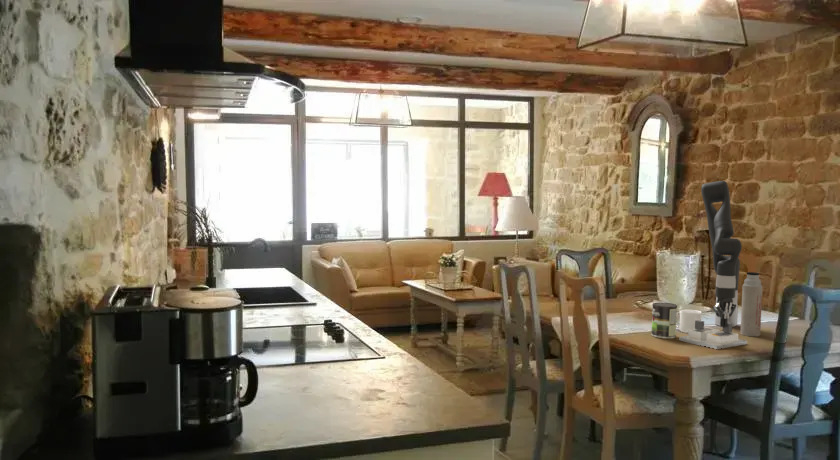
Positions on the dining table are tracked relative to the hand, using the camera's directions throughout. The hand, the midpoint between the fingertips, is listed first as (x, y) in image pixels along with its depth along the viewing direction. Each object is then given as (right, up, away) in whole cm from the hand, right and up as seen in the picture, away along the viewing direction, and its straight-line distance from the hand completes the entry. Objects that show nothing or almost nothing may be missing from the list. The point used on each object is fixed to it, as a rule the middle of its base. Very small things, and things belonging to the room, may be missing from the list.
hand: (723, 327), depth 279 cm
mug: (-5, -6, +26) cm, 27 cm away
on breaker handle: (-8, -2, +6) cm, 10 cm away
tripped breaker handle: (+2, -2, +1) cm, 3 cm away
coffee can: (-20, -6, +15) cm, 26 cm away
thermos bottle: (+21, -7, +20) cm, 30 cm away
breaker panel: (-3, -7, +4) cm, 9 cm away
